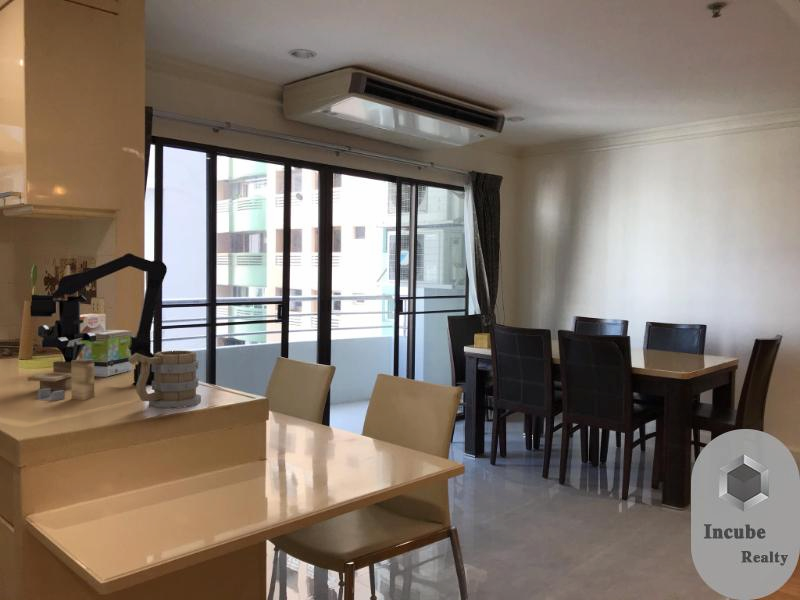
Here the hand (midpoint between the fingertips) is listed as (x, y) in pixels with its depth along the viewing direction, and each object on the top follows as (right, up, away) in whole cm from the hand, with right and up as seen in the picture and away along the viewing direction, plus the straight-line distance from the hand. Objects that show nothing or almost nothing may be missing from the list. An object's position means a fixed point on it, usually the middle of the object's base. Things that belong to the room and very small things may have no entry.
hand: (70, 367), depth 197 cm
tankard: (+36, -8, -22) cm, 43 cm away
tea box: (-1, -5, +29) cm, 29 cm away
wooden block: (+13, -7, -19) cm, 24 cm away
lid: (-1, -2, -7) cm, 7 cm away
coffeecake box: (-15, -5, +39) cm, 42 cm away
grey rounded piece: (+5, -7, -20) cm, 22 cm away
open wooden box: (0, -6, -2) cm, 7 cm away
